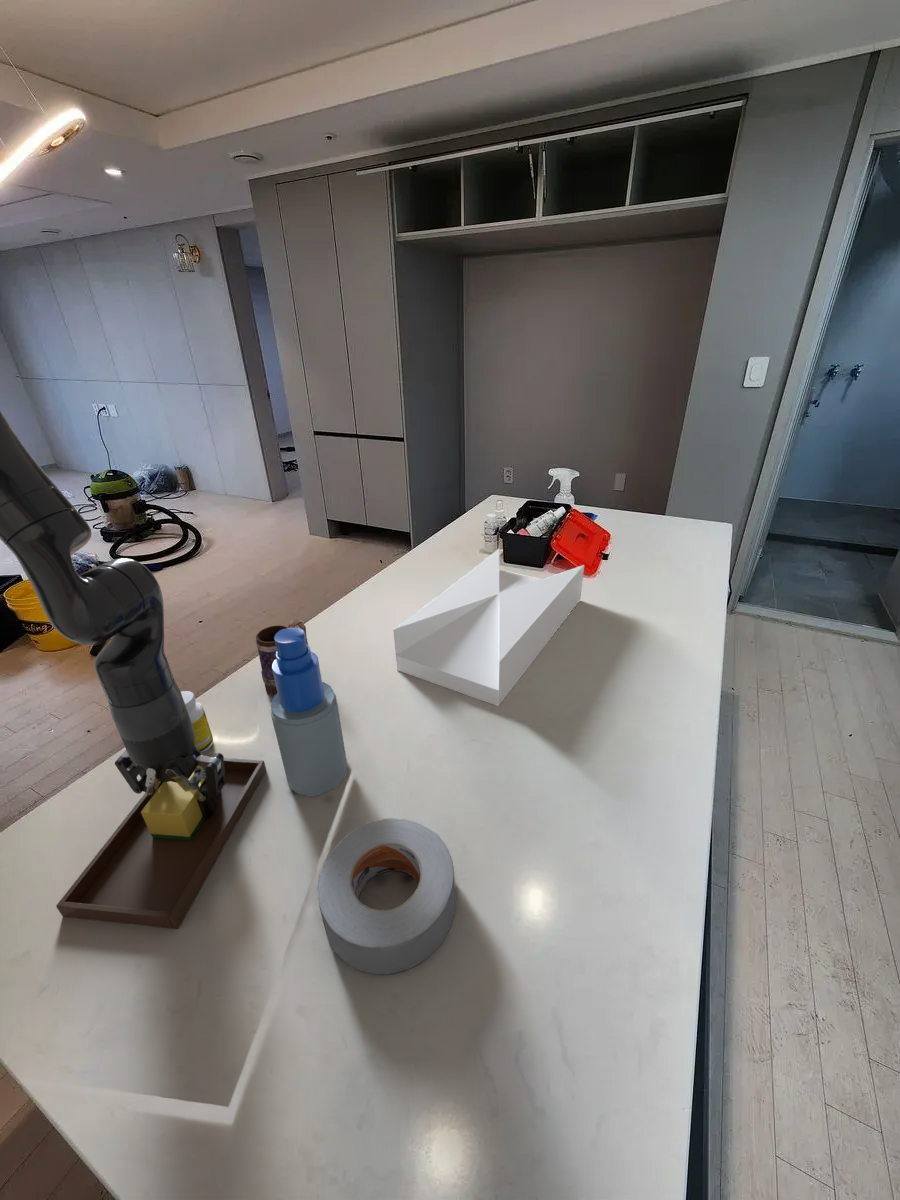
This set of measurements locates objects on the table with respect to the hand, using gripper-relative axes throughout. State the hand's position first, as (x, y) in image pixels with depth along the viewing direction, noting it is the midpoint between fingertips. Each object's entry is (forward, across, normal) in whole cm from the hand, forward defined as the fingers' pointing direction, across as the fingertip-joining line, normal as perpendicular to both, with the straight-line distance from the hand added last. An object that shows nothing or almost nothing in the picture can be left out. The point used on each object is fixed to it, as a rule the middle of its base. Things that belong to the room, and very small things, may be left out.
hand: (189, 811), depth 70 cm
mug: (+1, -3, -31) cm, 31 cm away
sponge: (0, 0, 0) cm, 0 cm away
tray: (+1, 0, +3) cm, 3 cm away
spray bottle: (+1, -16, -8) cm, 18 cm away
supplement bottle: (+1, +6, -13) cm, 14 cm away
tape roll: (+1, -30, +10) cm, 32 cm away
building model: (+1, -42, -51) cm, 66 cm away
